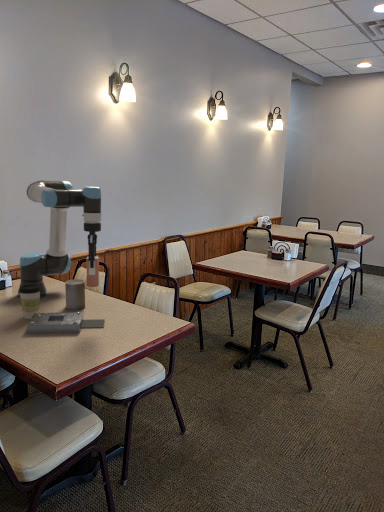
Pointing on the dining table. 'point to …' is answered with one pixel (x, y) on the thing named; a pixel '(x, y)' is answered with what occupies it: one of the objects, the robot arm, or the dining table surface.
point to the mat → (93, 323)
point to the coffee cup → (30, 299)
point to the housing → (55, 323)
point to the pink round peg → (93, 279)
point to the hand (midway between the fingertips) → (92, 272)
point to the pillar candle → (75, 294)
